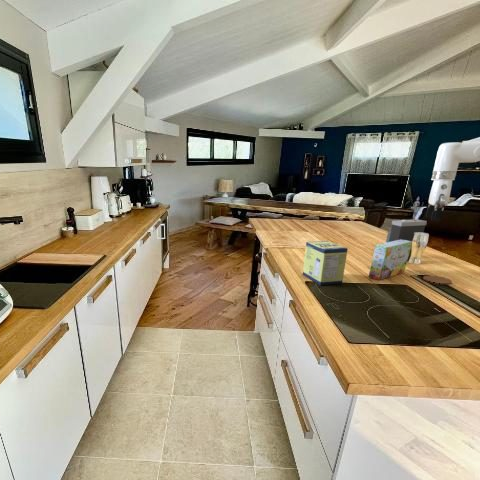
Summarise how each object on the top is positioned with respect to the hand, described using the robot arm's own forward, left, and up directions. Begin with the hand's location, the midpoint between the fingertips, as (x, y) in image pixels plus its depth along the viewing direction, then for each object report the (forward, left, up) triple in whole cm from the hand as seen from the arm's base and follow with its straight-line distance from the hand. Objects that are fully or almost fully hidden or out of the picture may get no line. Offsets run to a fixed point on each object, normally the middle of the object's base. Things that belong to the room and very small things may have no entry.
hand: (432, 219), depth 132 cm
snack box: (+12, -4, -26) cm, 29 cm away
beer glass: (-16, -19, -26) cm, 35 cm away
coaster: (-3, +7, -25) cm, 26 cm away
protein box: (+44, -5, -26) cm, 51 cm away
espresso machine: (-16, -29, -25) cm, 41 cm away
